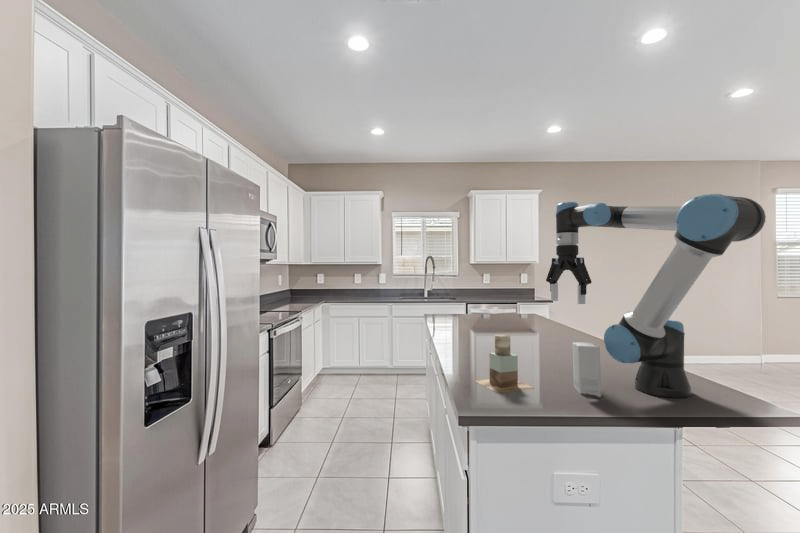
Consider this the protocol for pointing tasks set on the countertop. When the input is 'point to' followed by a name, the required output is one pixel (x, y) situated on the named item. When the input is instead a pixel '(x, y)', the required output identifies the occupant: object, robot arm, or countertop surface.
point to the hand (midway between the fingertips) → (567, 302)
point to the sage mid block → (504, 362)
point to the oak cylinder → (502, 345)
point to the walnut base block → (503, 378)
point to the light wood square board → (499, 390)
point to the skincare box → (586, 368)
